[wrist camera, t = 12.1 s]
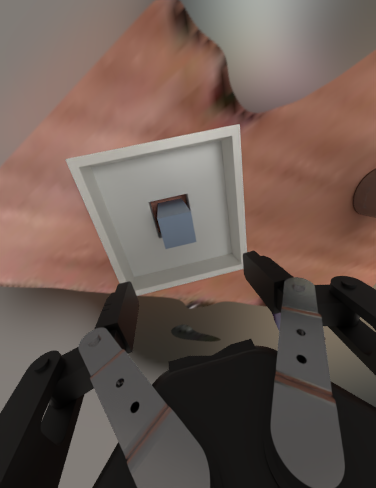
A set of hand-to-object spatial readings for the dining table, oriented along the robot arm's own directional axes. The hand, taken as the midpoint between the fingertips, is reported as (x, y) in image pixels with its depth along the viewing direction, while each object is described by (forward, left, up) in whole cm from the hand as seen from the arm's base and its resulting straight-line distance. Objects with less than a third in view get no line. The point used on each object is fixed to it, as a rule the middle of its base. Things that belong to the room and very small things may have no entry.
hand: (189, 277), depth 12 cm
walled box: (0, 0, -20) cm, 20 cm away
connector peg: (0, 0, -20) cm, 20 cm away
